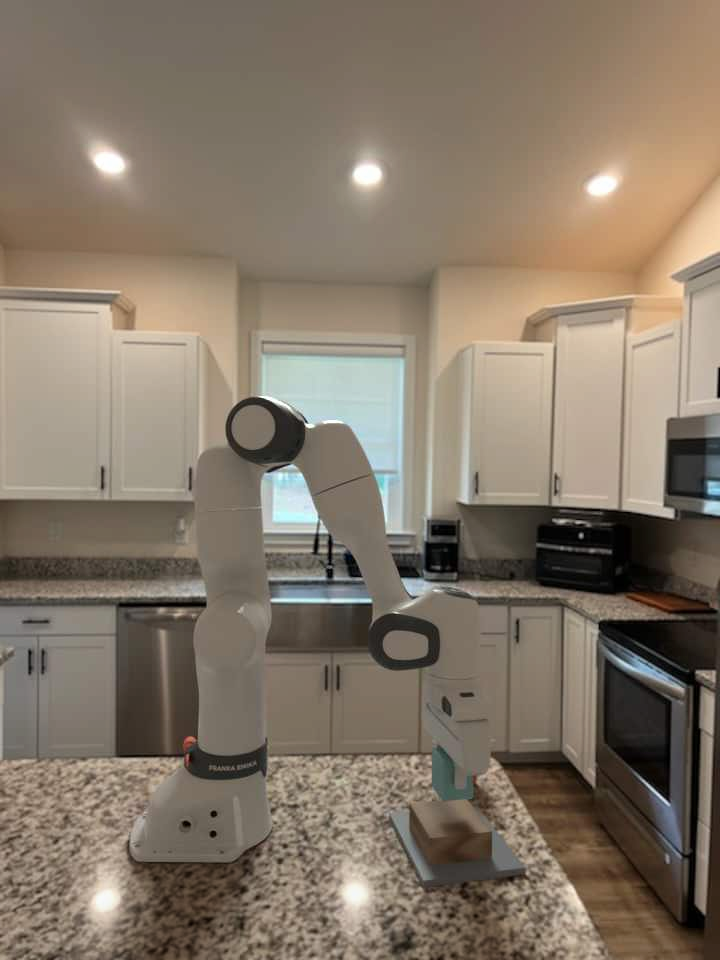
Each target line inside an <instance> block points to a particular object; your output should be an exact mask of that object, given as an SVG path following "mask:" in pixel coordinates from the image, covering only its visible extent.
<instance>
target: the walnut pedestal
mask: <svg viewBox="0 0 720 960" xmlns="http://www.w3.org/2000/svg"><path fill="white" fill-rule="evenodd" d="M408 811H409V829H410V830H411V832H412V834H413V836H414V838H415V840H416V842H417V843H418V845H419V847H420V849H421V851H422V853H423V854H424V856H425V858H426V860H427V862H428V864H429V866H432V865H440V864H448V863H456V862H464V861H473V860H481V859H489V858H492V830H491V829H490V828H489V827H488V825H487V824H486V823H485V821H484V820H483V819H482V818H481V816H480V815H479V814H478V813H477V811H476V810H475V809H474V807H473V806H472V804H471V802H470V801H469V799H462V800H453V801H444V802H443V801H442V800H441V799H440V800H430V801H421V802H420V801H419V802H410V803H409V810H408Z"/></svg>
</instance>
